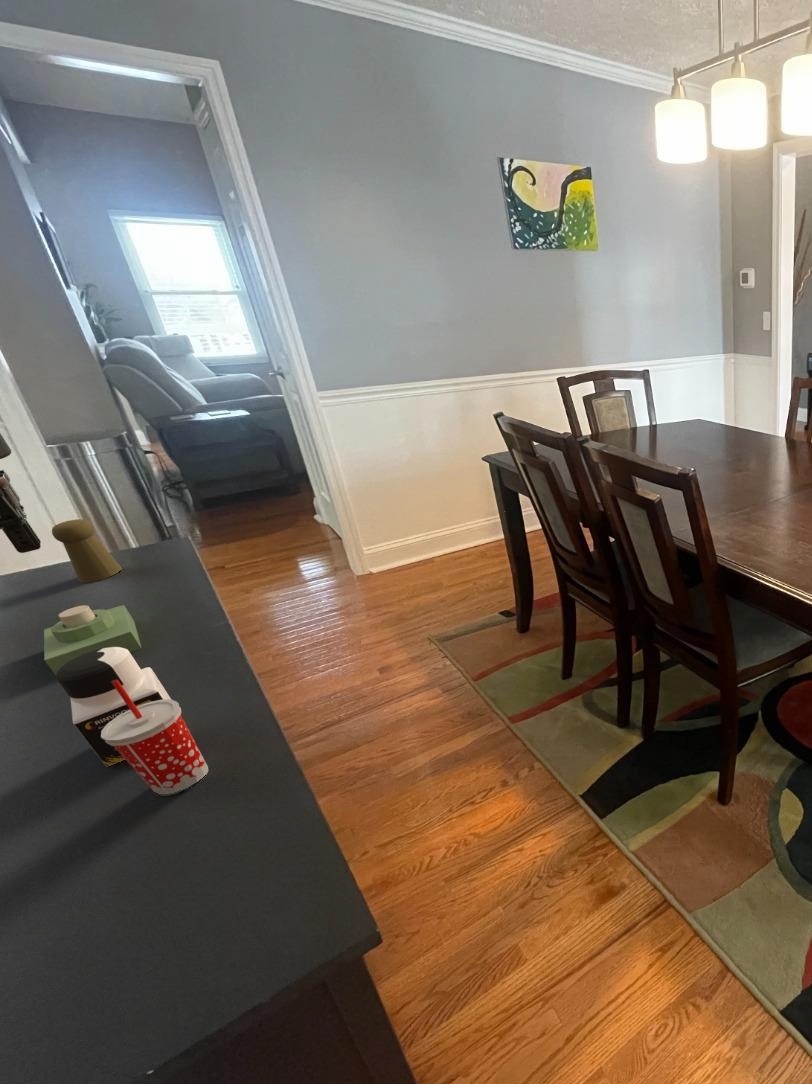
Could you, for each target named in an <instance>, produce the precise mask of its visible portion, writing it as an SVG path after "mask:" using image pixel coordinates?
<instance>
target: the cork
mask: <svg viewBox="0 0 812 1084" xmlns="http://www.w3.org/2000/svg"><path fill="white" fill-rule="evenodd" d="M94 534H95V527H94V526H93V524H92V523H91V522H90V521H89V520H87V519H81V518H78V519H70V520H66V521H63V522H59V523H57V524H55V525H54V526H53V527H52V528H51V535H52V537H53V538H54V539H55V540H56V541H57V542H61V543H62V544H63V546H64V549H65V551H66V553H67V556H68V558H69V561H70V563H71V566H72V568H73V570H74V572H75V574H76V576H77V577H76V578H77V579H78V581H79V583H81V584H89V583H94V582H99V580H100V581H102V580H106V578H107V579H109V578H111V577H110V576H112V575H114V574H116V573H118V572H119V571H120V570H121V569H123V567H122V566H121V565H120V563H119V562H117V560H116V559H115V558H114V557H113V556H112V554H111V553H110V552H109V551H108V549H106V547H105V546H104V545H103V544H102V543H101V541H99V539H98V538H97V537H96V536H95V535H94ZM121 567H122V568H121ZM118 574H119V573H118ZM116 575H117V574H116ZM114 576H115V575H114ZM108 577H109V578H108ZM112 577H113V576H112Z"/></svg>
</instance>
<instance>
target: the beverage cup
mask: <svg viewBox="0 0 812 1084" xmlns="http://www.w3.org/2000/svg"><path fill="white" fill-rule="evenodd" d="M111 683H112V684H113V685H114V687H115V688H116V690H117V691H118V693H119V694H120V696H121V697H122V698H123V700H124V701H125V703H126V704H127V706H128V707H129V708H130V710H128V711H126V712H124V713H122V714H121V715H119V716H117V717H116V718H114V719H113V720H112V721H110V722H109V723H108V724H107V725H106V726H105V727H104V728H103V730H102V731H101V738H102V739H104V740H105V742H106V743H108V744H109V745H111V746H114V747H115V748H116V750H117V751H118V752H119V753H120V754H121V755H122V756H123V757H124V759H125V761H126V762H127V763H128V764H129V766H130V767H131V768H132V769H133V770H134V771H135V772H136V773H137V775H138V776H140V778H141V779H142V780H143V781H144V782H145V783H146V784H147V785H148V787H149V788H150V789H151V790H152V791H153V793H155V792H156V793H158V794H169V793H174V792H177V791H179V790H183V789H185V788H188V787H189V786H191V785H192V784H194V783H196V782H198V781H199V780H200V779H202V778H203V777H204V776H205V775H206V776H207V774H208V772H209V766H208V764H207V761H206V760H205V758H204V756H203V754H202V753H201V751H200V748H199V747H198V744H197V743H196V741H195V739H194V737H193V735H192V733H191V731H190V730H189V727H188V725H187V724H186V722H185V720H184V718H183V716H182V708H181V707H180V703H179V702H178V701H176V700H174V699H171V700H157V701H153V702H148V703H145V704H143V705H140V706H137V707H136V706H135V704H134V703H133V701H132V700H131V699H130V697H129V696H128V694H127V693H126V691H125V690H124V688H123V687H122V685H121V684H120V682H119V681H118V680H117V679H116V680H113V681H112V682H111ZM206 776H205V777H206ZM205 777H204V778H205ZM204 778H203V779H204ZM203 779H202V780H203ZM156 793H155V794H156Z"/></svg>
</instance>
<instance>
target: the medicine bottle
mask: <svg viewBox="0 0 812 1084" xmlns="http://www.w3.org/2000/svg"><path fill="white" fill-rule="evenodd" d="M55 679H56V681H57V682H58V683H59V684H60V686H61V687H62V689H63V690H64V691H65V692H66V694H67V695H68V697H69V698H70V707H71V708H70V709H71V718H72V724H73V726H74V727H75V728H76V729H77V731H78V733H80V735H81V736H82V738H83V739H84V740H85V741H86V743H87V744H88V745H89V746H90V748H91V749H92V750H93V752H94V753H95V754H96V755H97V758H99V759H100V761H101V762H102V763H103V764H104V766H105V767H106V768H109V767H108V766H111V765H113V764H116V763H118V762H120V763H122V762H121V761H123V760H125V759H124V757H123V756H122V755H121V754H120V753H119V752H118V751H117V750H116V748H115V747H114V746H111V745H109V744H108V743H106V742H105V740H104V739H102V738H101V731H102V730H103V728H104V727H105V726H106V725H107V724H108V723H109V722H110V721H112V720H113V719H114V718H116V717H117V716H119V715H121V714H122V713H124V712H126V711H128V710H130V708H129V707H128V706H127V704H126V703H125V701H124V700H123V698H122V697H121V696H120V694H119V693H118V691H117V690H116V688H115V687H114V685H113V684H112V683H111V682H112V681H113V680H116V679H117V680H118V681H119V682H120V684H121V685H122V687H123V688H124V690H125V691H126V693H127V694H128V696H129V697H130V699H131V700H132V701H133V703H134V704H135V706H136V707H137V706H140V705H143V704H145V703H148V702H153V701H157V700H172V698H171V697H170V695H169V694H168V692H167V691H166V689H165V687H164V686H163V684H162V683H161V681H160V680H159V678H158V676H157V675H156V673H155V672H154V670H153V668H151V667H149V666H148V667H144V668H141V667H140V666H139V664H138V663H137V661H136V660H135V658H134V656H133V655H132V654H131V653H130V652H129V651H128V650H127V649H125V648H121V647H110V648H103V649H98V650H94V651H91V652H88V653H85V654H82V655H80V656H78V657H76V658H74V659H72V660H71V661H69V662H68V663H66V664H65V665H63V666H62V667H61V668H60V669H59V670H58V671H57V674H56V675H55ZM125 761H126V760H125ZM123 762H124V761H123ZM118 764H119V763H118ZM116 765H117V764H116ZM113 766H114V765H113ZM111 767H112V766H111Z"/></svg>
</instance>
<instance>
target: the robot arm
mask: <svg viewBox="0 0 812 1084" xmlns="http://www.w3.org/2000/svg"><path fill="white" fill-rule="evenodd" d="M11 454H12V449H11V448H10V446H9V445H8V443H7V441H6V440H5V438H4V437H3V435H2V434H1V433H0V460H2V459H5V458H7V457H9V456H10V455H11ZM10 482H11V478H10V477H9V475H8V473H7V472H6V470H4V469H0V530H2V532H3V534H5V536H6V537H7V538H8V540H9V541H10V543H11V545H12V546H13V547H14V548H15V550H16V552H18V553H20V554H25V553H30V552H33V551H38V550H40V549H41V546H42V545H41V542H42V541H41V539H40V538H39V536H38V535H37V533H36V532H35V530H34V529H33V527H32V526H31V524H30V523H29V522H28V520H27V516H28V515H27V513H26V512H25V510H24V509H25V507H24V506H23V505H22V504H21V503H20V502H21V497H20V496H19V494H18V492H17V491H16V489H14V487H13V486H12V484H11V483H10Z"/></svg>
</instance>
